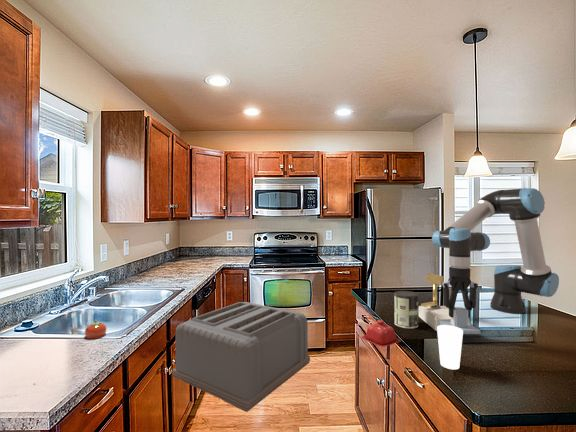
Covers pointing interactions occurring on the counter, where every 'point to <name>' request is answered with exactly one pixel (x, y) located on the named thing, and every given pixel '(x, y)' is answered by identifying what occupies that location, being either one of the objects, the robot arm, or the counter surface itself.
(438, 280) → the l shaped latch
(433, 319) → the housing
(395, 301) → the coffee can
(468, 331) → the cover
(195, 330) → the toaster
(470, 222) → the robot arm
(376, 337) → the butter dish
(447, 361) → the cup
